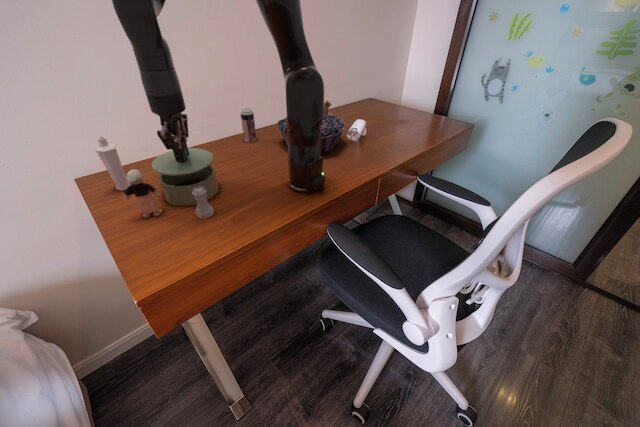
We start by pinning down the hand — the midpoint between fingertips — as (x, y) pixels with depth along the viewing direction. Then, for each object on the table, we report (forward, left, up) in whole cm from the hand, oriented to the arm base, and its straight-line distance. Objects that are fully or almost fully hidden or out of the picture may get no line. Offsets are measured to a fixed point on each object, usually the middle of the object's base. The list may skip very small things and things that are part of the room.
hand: (183, 158), depth 75 cm
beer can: (+16, -36, -11) cm, 41 cm away
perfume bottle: (+18, +11, -11) cm, 24 cm away
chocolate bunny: (+7, -75, -11) cm, 76 cm away
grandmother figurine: (-1, +13, -11) cm, 17 cm away
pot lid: (0, 0, -1) cm, 1 cm away
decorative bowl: (-4, -50, -11) cm, 51 cm away
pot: (0, 0, -11) cm, 11 cm away
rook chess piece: (-12, +4, -11) cm, 17 cm away
